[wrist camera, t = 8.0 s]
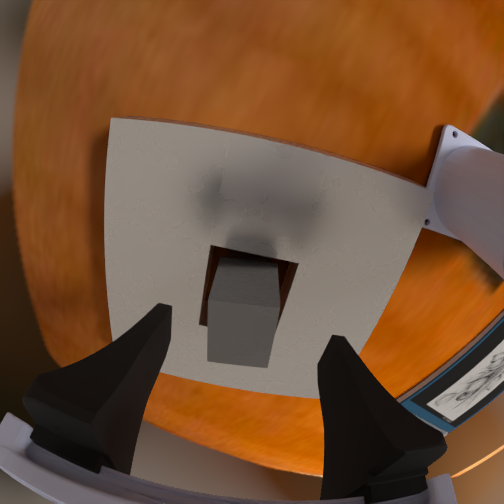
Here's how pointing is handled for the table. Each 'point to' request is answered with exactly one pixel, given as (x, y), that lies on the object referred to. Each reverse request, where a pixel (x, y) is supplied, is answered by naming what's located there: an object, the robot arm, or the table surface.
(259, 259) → the grey block
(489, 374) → the sketchbook
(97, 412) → the robot arm
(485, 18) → the table surface
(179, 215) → the grey square slab
